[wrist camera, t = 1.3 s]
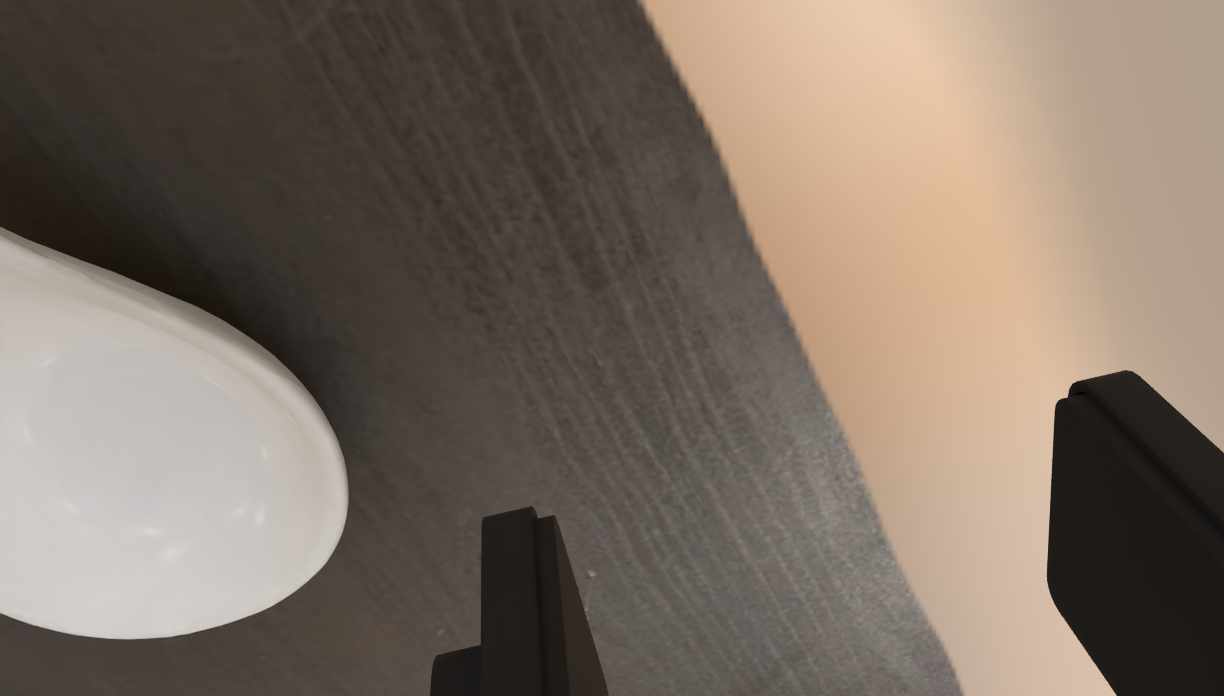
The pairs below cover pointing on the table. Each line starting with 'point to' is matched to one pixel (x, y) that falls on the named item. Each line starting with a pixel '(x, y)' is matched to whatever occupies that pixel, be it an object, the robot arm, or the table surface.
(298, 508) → the spoon rest
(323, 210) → the table surface
